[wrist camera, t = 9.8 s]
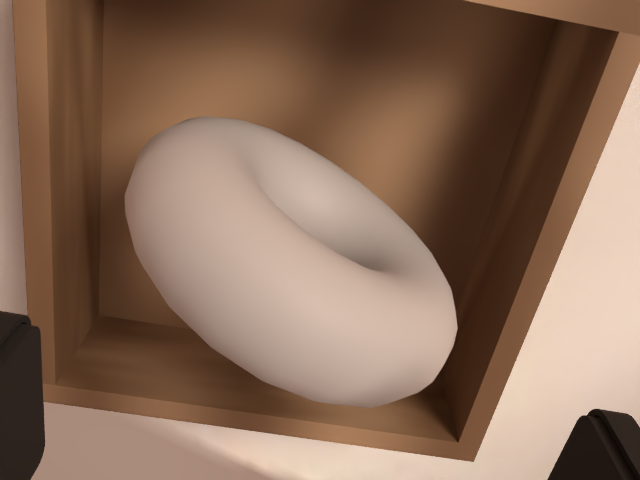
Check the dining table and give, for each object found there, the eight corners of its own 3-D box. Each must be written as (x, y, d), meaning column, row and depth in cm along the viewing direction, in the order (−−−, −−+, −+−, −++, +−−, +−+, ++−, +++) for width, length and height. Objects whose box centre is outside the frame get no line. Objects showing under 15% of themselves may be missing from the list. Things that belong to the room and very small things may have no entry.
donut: (445, 220, 21) (533, 415, 12) (388, 286, 23) (431, 507, 14) (207, 61, 19) (101, 162, 10) (158, 146, 20) (26, 304, 11)
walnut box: (581, -9, 19) (664, 3, 14) (447, 371, 25) (473, 461, 21) (87, -111, 17) (5, -133, 13) (85, 317, 24) (31, 399, 20)
